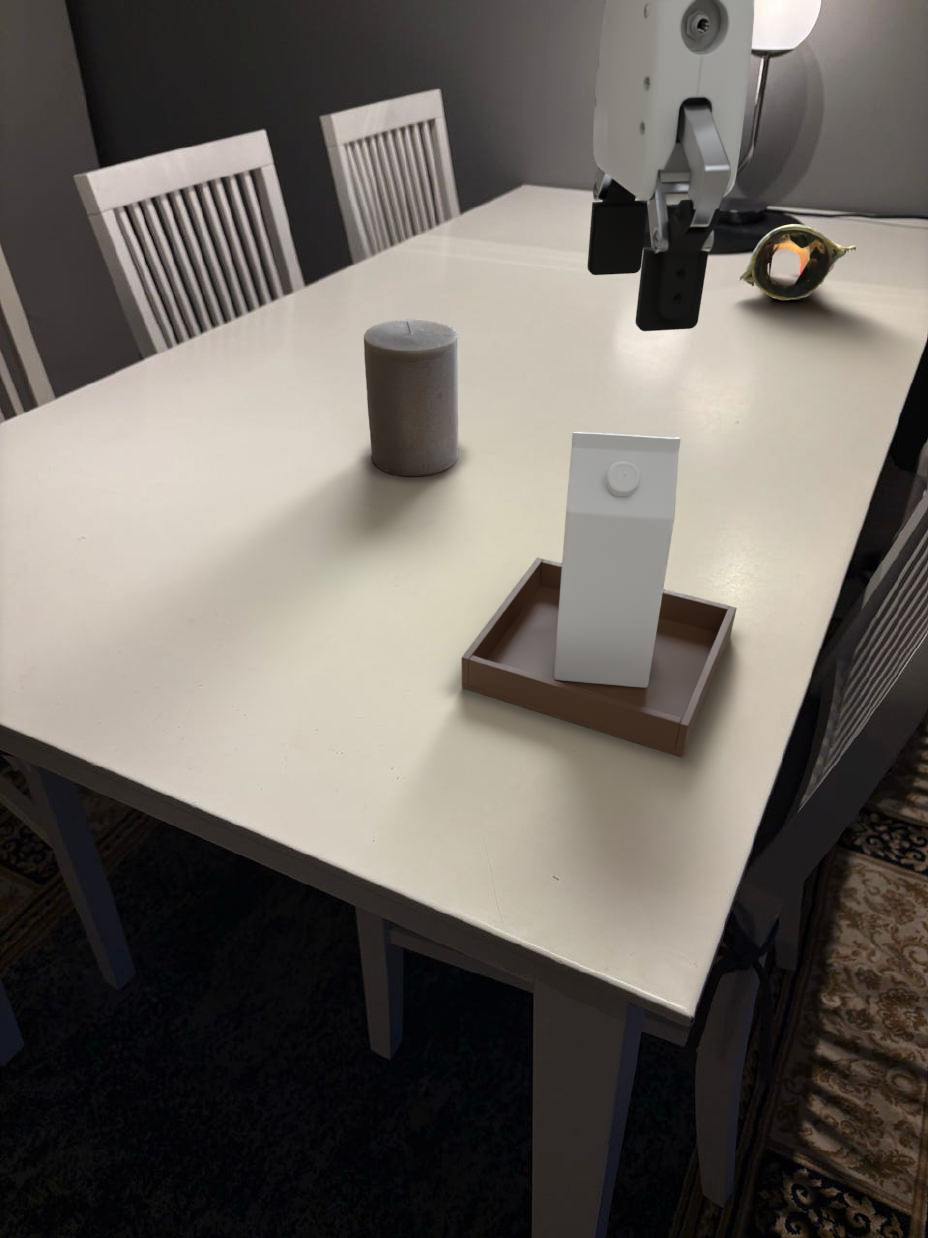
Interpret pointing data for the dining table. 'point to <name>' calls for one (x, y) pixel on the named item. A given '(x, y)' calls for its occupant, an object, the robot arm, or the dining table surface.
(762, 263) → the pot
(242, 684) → the dining table surface
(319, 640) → the dining table surface
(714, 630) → the tray
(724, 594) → the dining table surface
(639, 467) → the milk carton
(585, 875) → the dining table surface
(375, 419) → the pillar candle
